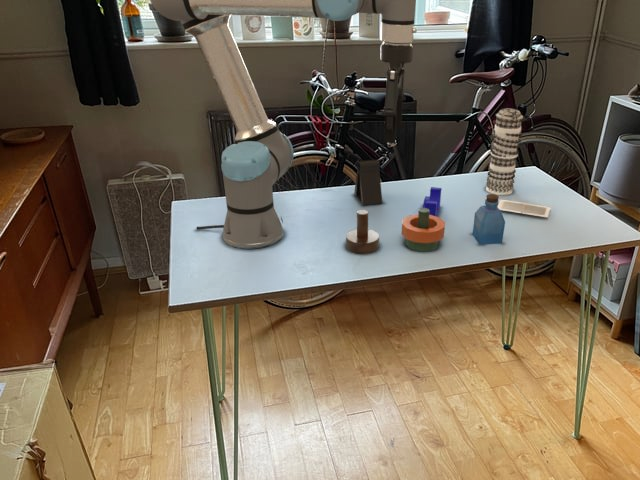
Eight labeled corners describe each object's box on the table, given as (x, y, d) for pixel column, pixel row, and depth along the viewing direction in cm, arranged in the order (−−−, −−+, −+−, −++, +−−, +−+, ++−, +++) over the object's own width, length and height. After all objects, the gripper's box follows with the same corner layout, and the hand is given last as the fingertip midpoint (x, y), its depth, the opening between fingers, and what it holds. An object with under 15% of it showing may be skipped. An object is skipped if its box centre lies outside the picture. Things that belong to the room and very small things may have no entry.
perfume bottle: (502, 243, 152) (508, 200, 146) (479, 244, 152) (484, 201, 145) (494, 233, 158) (500, 191, 151) (472, 234, 157) (477, 192, 151)
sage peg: (404, 250, 148) (406, 215, 143) (407, 235, 155) (408, 202, 150) (437, 252, 147) (440, 218, 142) (438, 238, 154) (441, 204, 149)
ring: (399, 241, 145) (400, 230, 144) (403, 223, 155) (404, 212, 153) (443, 244, 144) (444, 233, 143) (444, 226, 154) (445, 215, 152)
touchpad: (499, 202, 176) (500, 195, 175) (550, 210, 172) (551, 203, 171) (494, 212, 170) (495, 205, 168) (547, 220, 165) (548, 213, 164)
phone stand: (354, 194, 178) (354, 156, 172) (372, 192, 180) (373, 155, 174) (363, 205, 171) (363, 166, 165) (382, 203, 173) (383, 164, 167)
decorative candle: (516, 187, 187) (529, 108, 174) (510, 197, 180) (522, 115, 167) (489, 182, 190) (499, 104, 177) (481, 192, 183) (491, 111, 170)
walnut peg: (343, 252, 146) (342, 217, 141) (349, 237, 153) (348, 204, 148) (376, 255, 145) (377, 220, 140) (380, 240, 152) (381, 206, 147)
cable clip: (424, 205, 172) (426, 186, 169) (439, 207, 172) (441, 188, 169) (418, 222, 162) (420, 202, 159) (434, 223, 162) (436, 203, 159)
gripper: (407, 53, 123) (402, 151, 134) (417, 36, 145) (412, 121, 156) (372, 51, 124) (370, 148, 135) (387, 34, 145) (384, 119, 156)
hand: (392, 134), depth 145 cm, fingers open, 13 cm apart
